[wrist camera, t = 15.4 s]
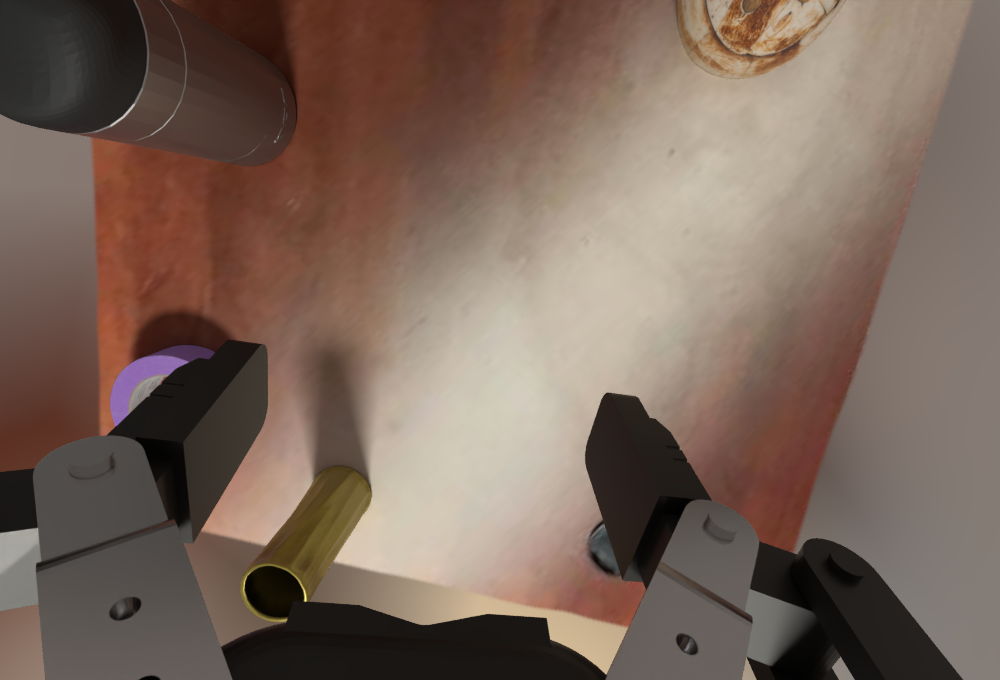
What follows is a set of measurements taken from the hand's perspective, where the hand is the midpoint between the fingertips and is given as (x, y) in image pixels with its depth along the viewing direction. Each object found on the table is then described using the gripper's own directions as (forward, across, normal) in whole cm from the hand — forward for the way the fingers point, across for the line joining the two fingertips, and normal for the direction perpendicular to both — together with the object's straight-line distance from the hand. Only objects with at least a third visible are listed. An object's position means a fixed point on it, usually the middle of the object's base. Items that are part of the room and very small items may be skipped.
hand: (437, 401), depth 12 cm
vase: (+30, +7, +32) cm, 44 cm away
